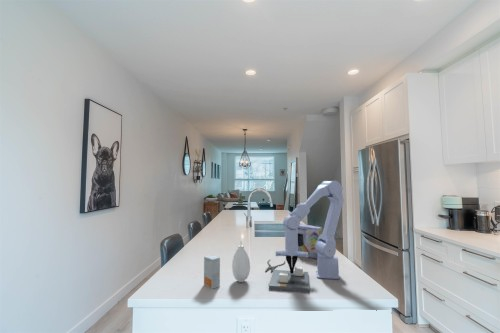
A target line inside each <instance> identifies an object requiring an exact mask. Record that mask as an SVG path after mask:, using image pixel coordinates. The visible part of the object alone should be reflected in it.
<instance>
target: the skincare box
mask: <svg viewBox="0 0 500 333" xmlns="http://www.w3.org/2000/svg"><path fill="white" fill-rule="evenodd" d="M203 285H204V286H205V287H208V288H209V289H211V290H214V289H216V288H219V287H220V286H221V258H220V257H219V256H216V255H212V254H210V255H205V256H204V257H203Z"/></svg>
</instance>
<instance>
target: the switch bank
mask: <svg viewBox="0 0 500 333" xmlns="http://www.w3.org/2000/svg"><path fill="white" fill-rule="evenodd" d="M280 272H282V273H288V283H284V282H279V274H280ZM268 290H270V291H271V290H272V291H285V292H286V291H287V292H299V293H310V282H309V272H308V271H303V276H296V275H295V270H294V272H293V273H290V270H283V269H275V270H273V272H272V273H271V277H270V280H269V283H268Z"/></svg>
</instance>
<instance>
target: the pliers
mask: <svg viewBox="0 0 500 333" xmlns="http://www.w3.org/2000/svg"><path fill="white" fill-rule="evenodd" d="M270 261H271V259H269V260H268V261H267V262H266V263H267V265H268V266H267V268H265V271H264V272H265V273H267V272H268V271H269V270H270V274H273V270H276V268H279V267H281V266H283V265H285V264H286V260H284V261H283V263H281V264H277V265H274V266H272V265H271V264H270ZM278 266H279V267H278Z"/></svg>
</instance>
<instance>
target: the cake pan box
mask: <svg viewBox="0 0 500 333" xmlns="http://www.w3.org/2000/svg"><path fill="white" fill-rule="evenodd" d="M322 233H323V227H322V226H316V225H315V226H314V225H309V224H301V223H300V226H299V227H298V251H301V252H308V258H312V259H315V260H317V251H316V249H315V243H316V241H317V240H318V238H319V236H320V235H321V234H322Z"/></svg>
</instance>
